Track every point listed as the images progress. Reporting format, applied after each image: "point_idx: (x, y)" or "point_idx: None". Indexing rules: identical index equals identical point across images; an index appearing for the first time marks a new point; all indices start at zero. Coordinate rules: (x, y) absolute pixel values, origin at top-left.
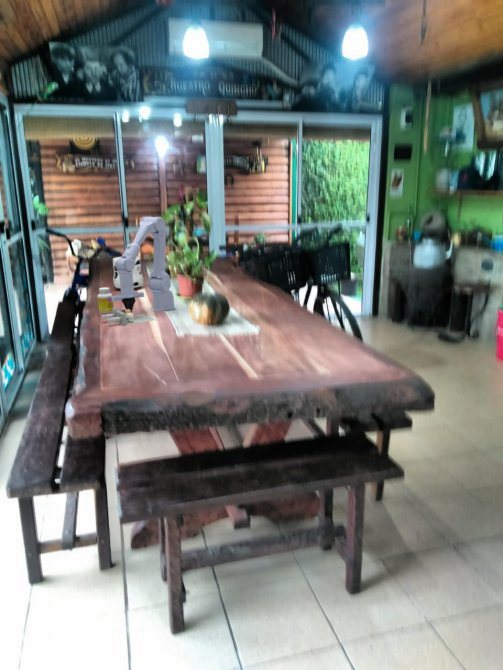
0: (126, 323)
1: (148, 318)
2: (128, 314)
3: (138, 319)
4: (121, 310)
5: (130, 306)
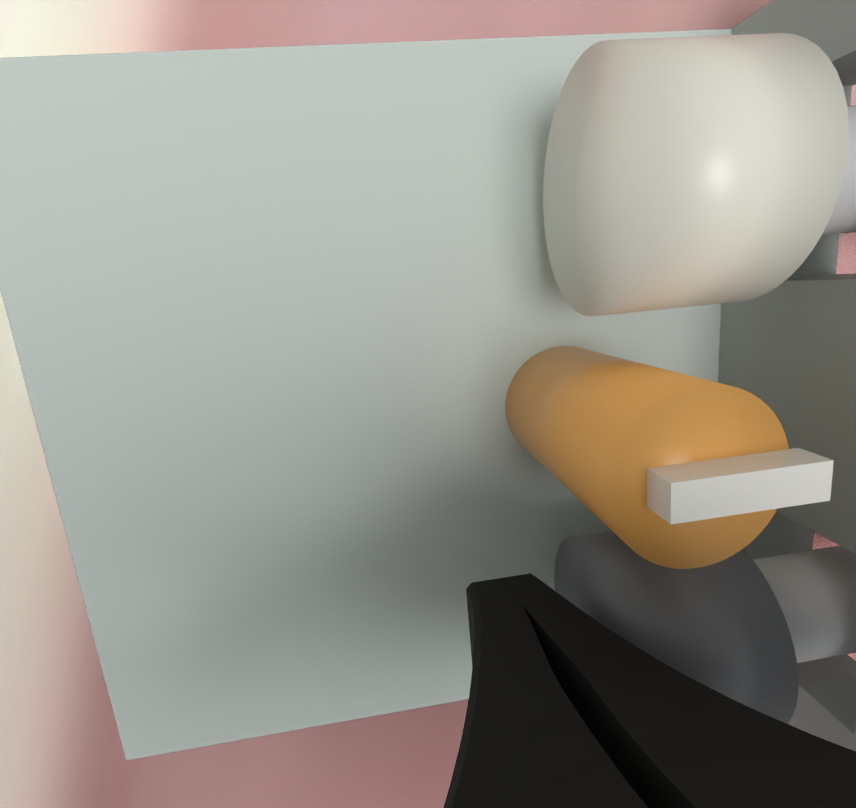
0: (761, 11)
1: (119, 323)
2: (809, 63)
3: (364, 362)
4: (793, 670)
5: (580, 736)
